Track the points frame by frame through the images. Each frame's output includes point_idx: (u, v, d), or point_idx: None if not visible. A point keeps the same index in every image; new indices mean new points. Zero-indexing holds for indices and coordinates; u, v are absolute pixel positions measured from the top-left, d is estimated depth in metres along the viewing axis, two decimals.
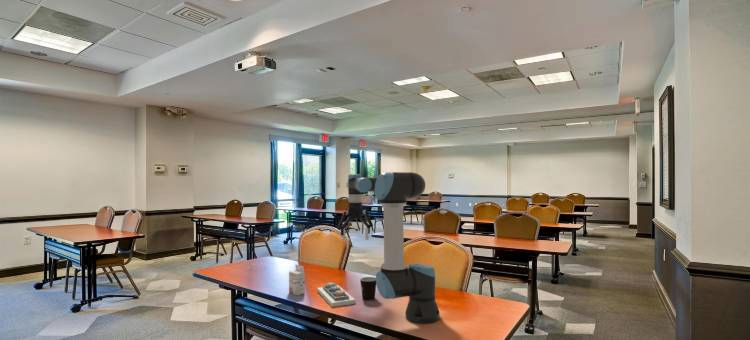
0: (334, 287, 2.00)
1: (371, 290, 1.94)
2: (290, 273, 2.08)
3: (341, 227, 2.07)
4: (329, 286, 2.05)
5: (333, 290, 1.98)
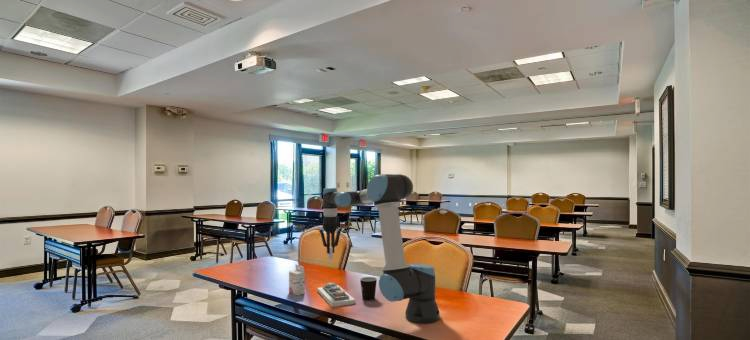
0: (334, 287, 2.00)
1: (371, 290, 1.94)
2: (290, 273, 2.08)
3: (327, 246, 2.06)
4: (329, 286, 2.05)
5: (333, 290, 1.98)
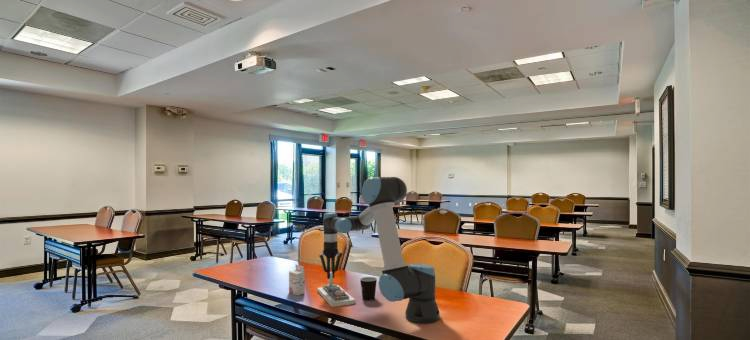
0: (334, 287, 2.00)
1: (371, 290, 1.94)
2: (290, 273, 2.08)
3: (327, 271, 2.06)
4: (329, 287, 2.05)
5: (333, 290, 1.98)
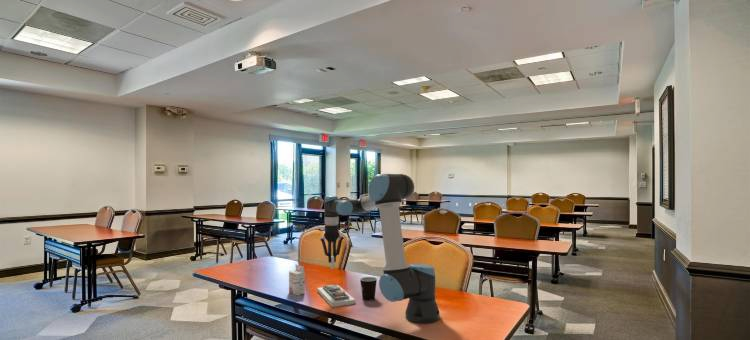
0: (334, 287, 2.00)
1: (371, 290, 1.94)
2: (290, 273, 2.08)
3: (328, 255, 2.04)
4: (329, 288, 2.05)
5: (333, 290, 1.98)
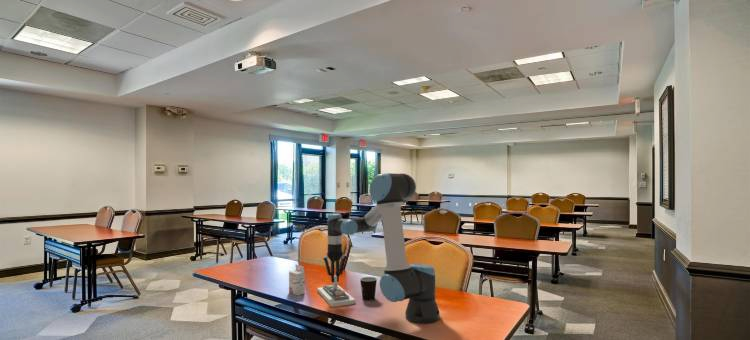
0: None
1: (371, 290, 1.94)
2: (290, 273, 2.08)
3: (331, 275, 1.99)
4: (329, 288, 2.05)
5: (333, 291, 1.98)
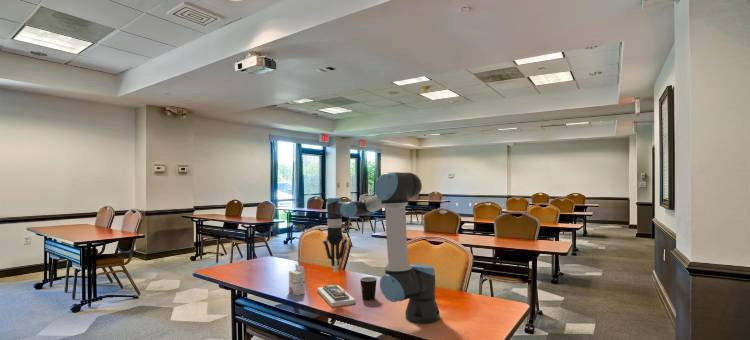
0: (334, 290, 2.00)
1: (371, 290, 1.94)
2: (290, 273, 2.08)
3: (331, 258, 1.99)
4: (329, 288, 2.05)
5: None
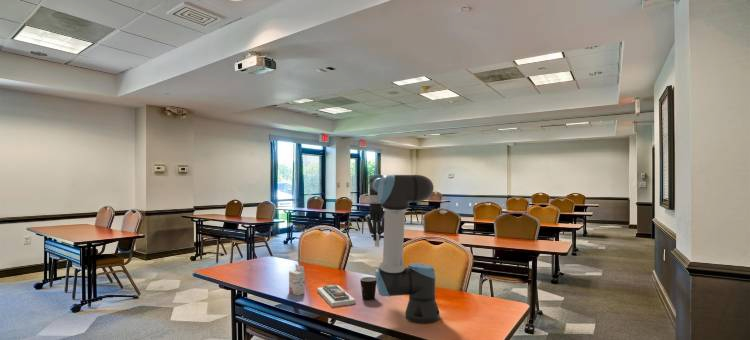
0: (334, 290, 2.00)
1: (371, 290, 1.94)
2: (290, 273, 2.08)
3: (374, 233, 2.05)
4: (329, 288, 2.05)
5: None
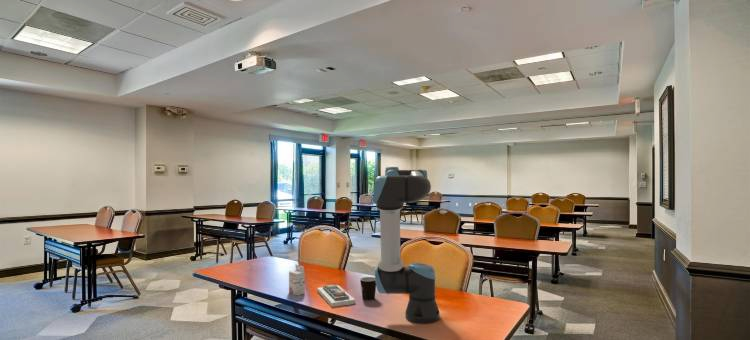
0: (334, 290, 2.00)
1: (371, 290, 1.94)
2: (290, 273, 2.08)
3: None
4: (329, 288, 2.05)
5: None
